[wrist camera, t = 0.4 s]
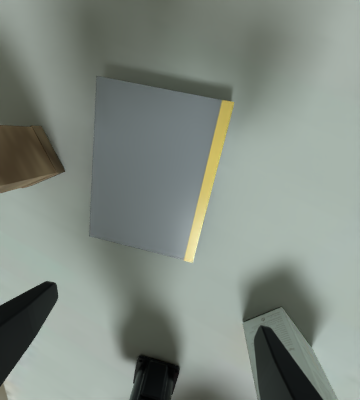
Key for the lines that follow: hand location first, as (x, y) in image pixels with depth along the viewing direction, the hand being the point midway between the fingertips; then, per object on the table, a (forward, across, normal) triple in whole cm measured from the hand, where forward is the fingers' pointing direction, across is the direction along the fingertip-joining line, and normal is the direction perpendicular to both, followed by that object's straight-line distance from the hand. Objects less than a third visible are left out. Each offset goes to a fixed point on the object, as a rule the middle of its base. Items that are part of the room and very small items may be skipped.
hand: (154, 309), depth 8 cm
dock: (+14, +4, -2) cm, 15 cm away
